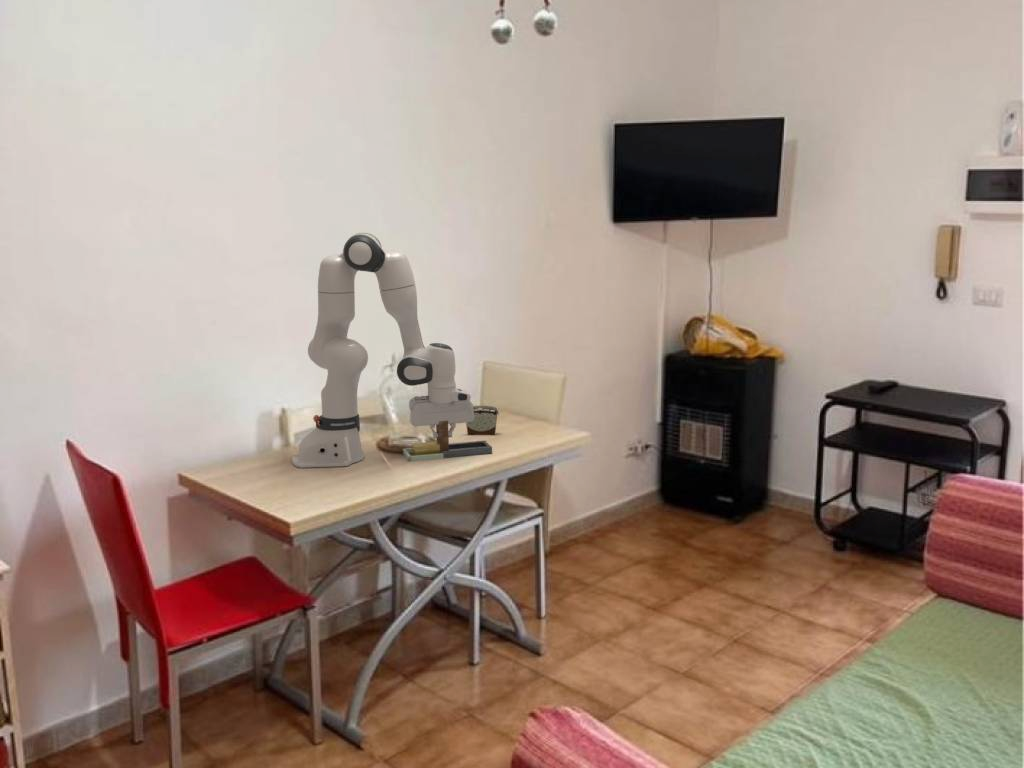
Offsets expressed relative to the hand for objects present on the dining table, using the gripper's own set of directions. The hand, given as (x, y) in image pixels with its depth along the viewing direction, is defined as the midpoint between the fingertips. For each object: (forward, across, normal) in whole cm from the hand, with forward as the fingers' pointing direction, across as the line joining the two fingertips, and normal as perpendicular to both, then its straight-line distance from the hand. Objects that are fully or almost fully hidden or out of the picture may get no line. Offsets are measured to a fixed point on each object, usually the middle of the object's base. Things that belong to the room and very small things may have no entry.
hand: (442, 437), depth 295 cm
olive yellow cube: (+6, -3, 0) cm, 7 cm away
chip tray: (+6, -6, 0) cm, 9 cm away
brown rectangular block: (+5, 0, 0) cm, 5 cm away
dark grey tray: (+6, +7, 0) cm, 9 cm away
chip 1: (+6, -7, 0) cm, 9 cm away
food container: (+7, +19, +22) cm, 30 cm away
